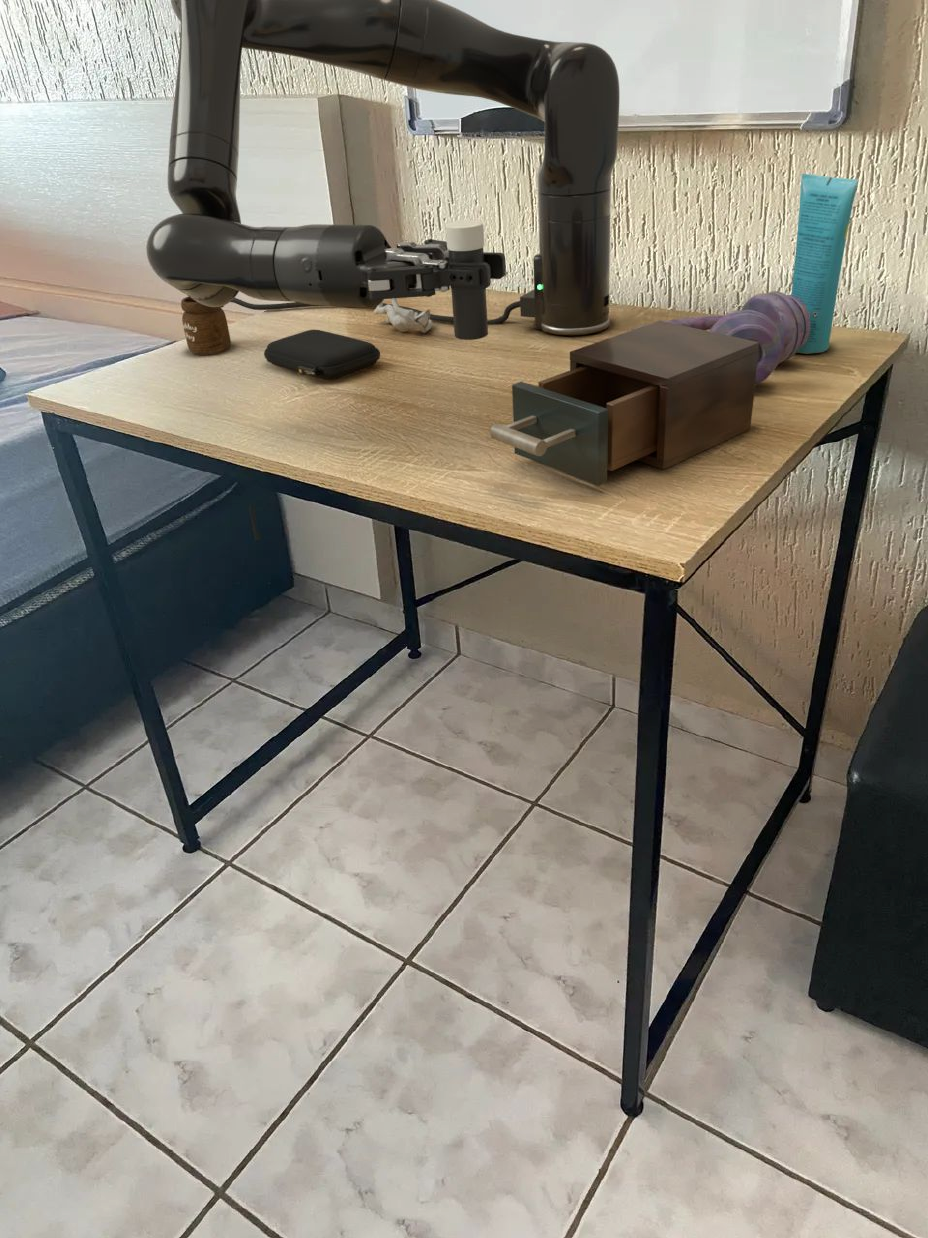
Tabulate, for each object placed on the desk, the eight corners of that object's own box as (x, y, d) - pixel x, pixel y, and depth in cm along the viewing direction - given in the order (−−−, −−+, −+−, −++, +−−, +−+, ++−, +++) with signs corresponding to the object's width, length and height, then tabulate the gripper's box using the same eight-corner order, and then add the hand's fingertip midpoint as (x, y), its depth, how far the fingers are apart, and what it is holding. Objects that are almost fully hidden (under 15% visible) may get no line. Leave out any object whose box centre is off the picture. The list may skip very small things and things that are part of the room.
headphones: (822, 350, 111) (666, 356, 123) (820, 278, 108) (660, 291, 119) (766, 400, 99) (599, 401, 111) (762, 321, 95) (590, 330, 107)
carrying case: (252, 367, 123) (322, 389, 114) (248, 344, 121) (318, 364, 112) (317, 346, 129) (388, 365, 120) (313, 324, 127) (385, 341, 118)
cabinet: (663, 469, 88) (668, 378, 83) (570, 436, 96) (569, 351, 92) (750, 429, 95) (759, 342, 90) (656, 401, 103) (660, 320, 98)
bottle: (447, 338, 90) (438, 226, 84) (465, 328, 92) (457, 219, 87) (478, 341, 88) (471, 228, 83) (495, 331, 90) (489, 220, 85)
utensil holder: (226, 340, 135) (208, 252, 128) (237, 351, 130) (218, 260, 123) (185, 348, 133) (164, 259, 126) (194, 359, 128) (173, 267, 121)
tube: (845, 349, 113) (871, 175, 103) (821, 359, 111) (846, 182, 100) (791, 338, 118) (811, 170, 108) (768, 347, 116) (786, 177, 105)
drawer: (556, 505, 81) (555, 429, 78) (474, 469, 89) (469, 399, 85) (686, 446, 90) (690, 375, 86) (601, 418, 97) (601, 352, 94)
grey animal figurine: (410, 324, 139) (457, 311, 129) (398, 353, 138) (443, 342, 128) (369, 293, 134) (414, 277, 125) (356, 322, 134) (400, 309, 124)
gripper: (372, 286, 99) (525, 292, 93) (301, 325, 89) (468, 334, 82) (363, 210, 95) (522, 211, 89) (287, 241, 85) (463, 244, 78)
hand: (495, 270), depth 86 cm, fingers closed on bottle, 3 cm apart
